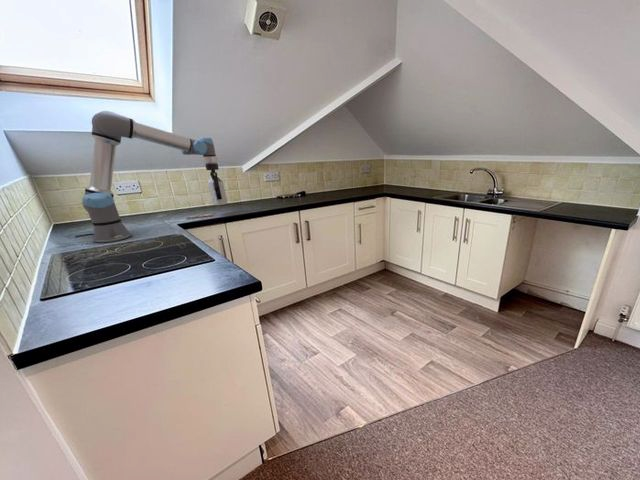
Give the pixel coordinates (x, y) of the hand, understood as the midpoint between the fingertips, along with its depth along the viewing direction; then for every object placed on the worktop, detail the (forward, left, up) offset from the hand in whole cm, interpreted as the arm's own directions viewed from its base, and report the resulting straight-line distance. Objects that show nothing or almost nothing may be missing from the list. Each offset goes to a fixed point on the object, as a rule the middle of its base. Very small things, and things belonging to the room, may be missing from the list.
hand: (219, 198), depth 205 cm
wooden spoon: (-12, -7, -11) cm, 18 cm away
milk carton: (0, 0, -4) cm, 4 cm away
